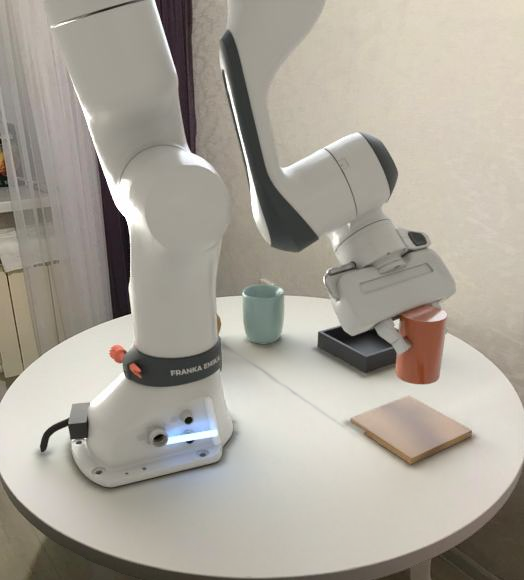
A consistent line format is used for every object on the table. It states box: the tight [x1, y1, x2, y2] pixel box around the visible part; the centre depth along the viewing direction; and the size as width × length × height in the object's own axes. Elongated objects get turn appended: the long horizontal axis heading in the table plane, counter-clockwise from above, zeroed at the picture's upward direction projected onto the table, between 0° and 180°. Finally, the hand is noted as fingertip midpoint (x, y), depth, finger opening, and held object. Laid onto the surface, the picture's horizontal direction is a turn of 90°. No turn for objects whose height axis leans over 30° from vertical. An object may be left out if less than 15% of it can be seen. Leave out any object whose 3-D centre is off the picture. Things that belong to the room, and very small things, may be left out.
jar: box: [394, 305, 448, 385], centre depth 79 cm, size 6×6×9 cm
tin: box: [317, 324, 399, 374], centre depth 107 cm, size 13×13×4 cm
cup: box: [241, 284, 285, 345], centre depth 111 cm, size 8×8×10 cm
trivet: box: [350, 395, 473, 465], centre depth 84 cm, size 12×12×1 cm
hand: (424, 343), depth 78 cm, fingers closed on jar, 6 cm apart
